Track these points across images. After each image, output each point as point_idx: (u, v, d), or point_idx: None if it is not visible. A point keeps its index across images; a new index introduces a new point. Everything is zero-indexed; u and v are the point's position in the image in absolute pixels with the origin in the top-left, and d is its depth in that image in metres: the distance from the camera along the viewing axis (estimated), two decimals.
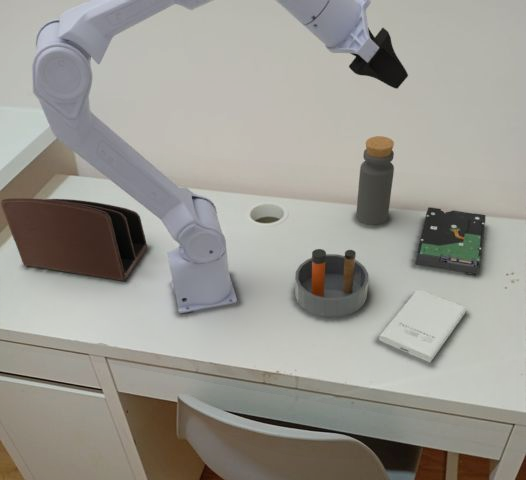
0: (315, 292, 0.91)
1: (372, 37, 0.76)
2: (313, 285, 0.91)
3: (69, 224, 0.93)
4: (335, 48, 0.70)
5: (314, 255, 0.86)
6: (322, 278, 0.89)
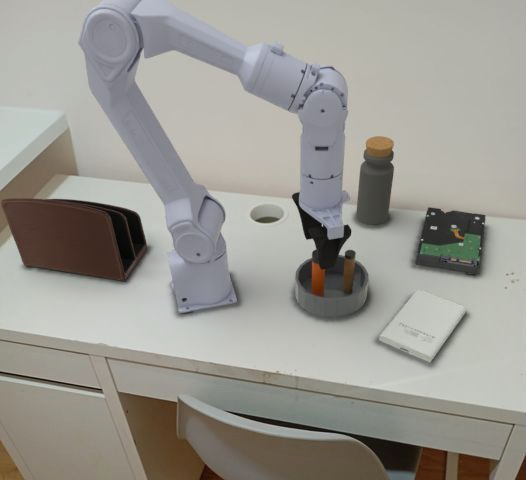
0: (315, 292, 0.91)
1: None
2: (313, 285, 0.91)
3: (69, 224, 0.93)
4: (308, 208, 0.78)
5: (314, 255, 0.86)
6: (322, 278, 0.89)
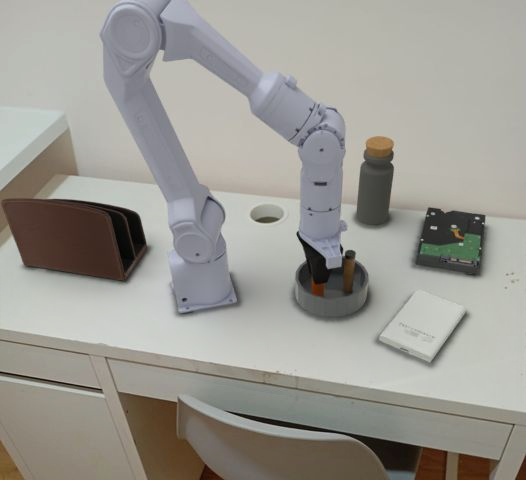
0: (315, 292, 0.91)
1: None
2: (313, 285, 0.91)
3: (69, 224, 0.93)
4: (308, 238, 0.82)
5: None
6: None
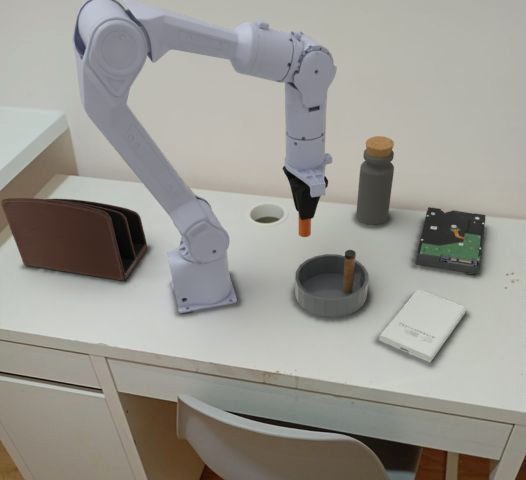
0: (302, 229, 0.93)
1: None
2: (300, 221, 0.92)
3: (69, 224, 0.93)
4: (293, 169, 0.83)
5: None
6: None
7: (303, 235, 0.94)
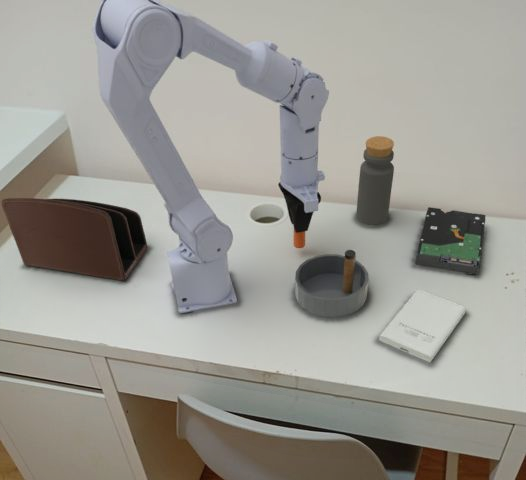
0: (296, 241, 0.98)
1: None
2: (295, 234, 0.98)
3: (69, 224, 0.93)
4: (288, 186, 0.89)
5: None
6: None
7: (298, 246, 0.99)
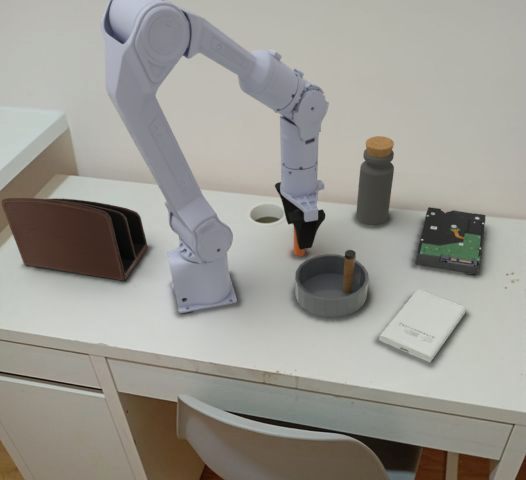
0: (296, 250, 1.00)
1: None
2: (295, 243, 0.99)
3: (69, 224, 0.93)
4: (288, 195, 0.90)
5: None
6: None
7: None
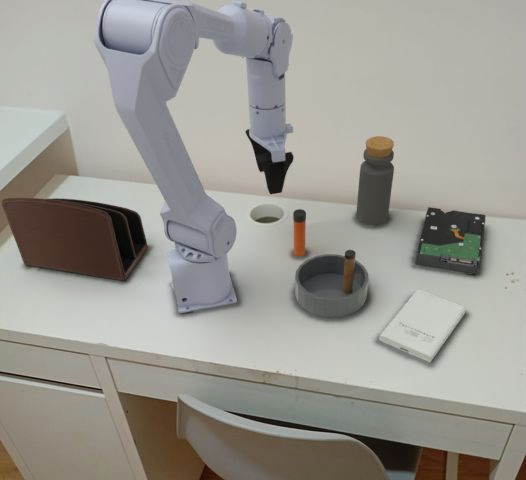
0: (296, 250, 1.00)
1: None
2: (295, 243, 0.99)
3: (69, 224, 0.93)
4: (256, 137, 0.91)
5: (295, 215, 0.95)
6: (303, 236, 0.98)
7: None
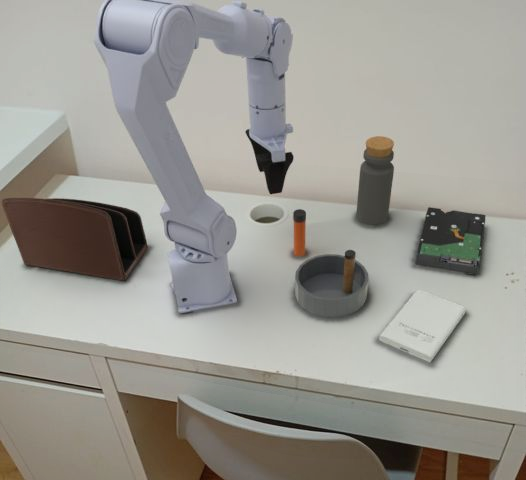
0: (296, 250, 1.00)
1: None
2: (295, 243, 0.99)
3: (69, 224, 0.93)
4: (256, 137, 0.91)
5: (295, 215, 0.95)
6: (303, 236, 0.98)
7: None
